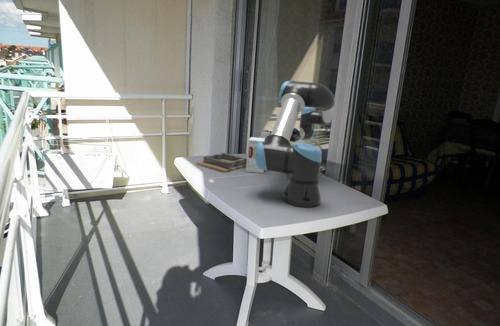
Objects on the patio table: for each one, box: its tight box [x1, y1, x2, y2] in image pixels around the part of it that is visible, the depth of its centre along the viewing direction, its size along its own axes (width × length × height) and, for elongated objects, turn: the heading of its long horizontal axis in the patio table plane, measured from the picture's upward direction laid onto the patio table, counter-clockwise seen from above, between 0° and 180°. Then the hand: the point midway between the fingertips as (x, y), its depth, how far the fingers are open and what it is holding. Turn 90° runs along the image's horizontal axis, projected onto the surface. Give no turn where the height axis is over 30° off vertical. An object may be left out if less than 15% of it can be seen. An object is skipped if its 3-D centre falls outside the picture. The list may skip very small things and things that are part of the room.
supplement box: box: [245, 136, 265, 174], centre depth 180 cm, size 10×9×17 cm
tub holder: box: [195, 152, 247, 174], centre depth 188 cm, size 24×20×4 cm
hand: (270, 137), depth 186 cm, fingers open, 13 cm apart
